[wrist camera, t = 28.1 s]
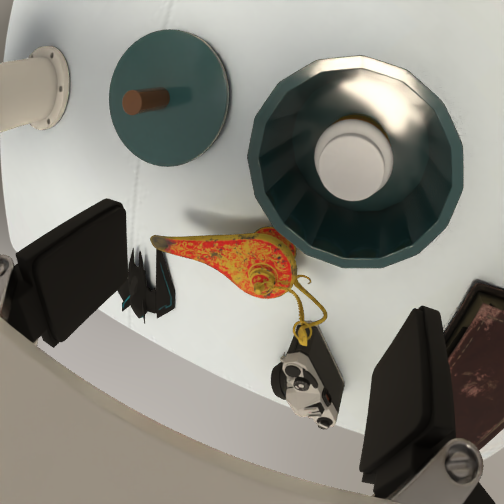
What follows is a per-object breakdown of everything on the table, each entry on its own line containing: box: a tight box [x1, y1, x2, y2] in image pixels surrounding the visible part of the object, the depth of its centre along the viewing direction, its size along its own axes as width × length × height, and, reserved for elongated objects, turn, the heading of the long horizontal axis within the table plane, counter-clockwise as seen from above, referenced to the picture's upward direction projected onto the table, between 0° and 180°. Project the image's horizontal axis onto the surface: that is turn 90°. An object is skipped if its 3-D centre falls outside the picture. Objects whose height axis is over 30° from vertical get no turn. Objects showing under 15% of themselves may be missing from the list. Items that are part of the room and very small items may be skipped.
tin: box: [247, 55, 463, 268], centre depth 22 cm, size 14×14×10 cm
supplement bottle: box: [314, 114, 393, 201], centre depth 22 cm, size 5×5×10 cm
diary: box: [444, 283, 504, 450], centre depth 30 cm, size 19×25×5 cm
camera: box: [271, 321, 345, 429], centre depth 37 cm, size 13×8×9 cm, turn 31°
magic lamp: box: [150, 227, 327, 346], centre depth 30 cm, size 7×18×11 cm, turn 76°
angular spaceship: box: [117, 248, 175, 324], centre depth 42 cm, size 11×15×3 cm
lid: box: [109, 30, 229, 167], centre depth 28 cm, size 15×15×6 cm
